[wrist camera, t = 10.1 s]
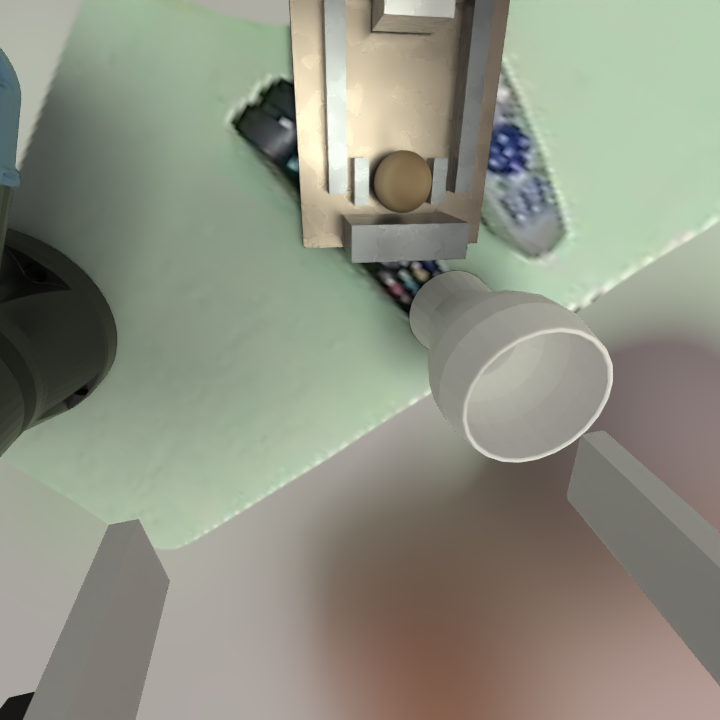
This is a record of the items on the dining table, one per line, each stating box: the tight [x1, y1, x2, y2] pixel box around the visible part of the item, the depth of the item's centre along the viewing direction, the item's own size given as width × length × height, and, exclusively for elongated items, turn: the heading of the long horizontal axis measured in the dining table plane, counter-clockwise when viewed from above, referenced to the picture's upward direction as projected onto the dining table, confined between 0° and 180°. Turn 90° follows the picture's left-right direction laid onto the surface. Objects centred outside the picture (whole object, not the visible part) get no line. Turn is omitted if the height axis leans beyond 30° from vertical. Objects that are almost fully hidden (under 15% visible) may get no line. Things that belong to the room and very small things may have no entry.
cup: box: [409, 271, 613, 462], centre depth 31 cm, size 11×11×15 cm
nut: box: [374, 150, 432, 213], centre depth 28 cm, size 4×4×4 cm
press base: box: [289, 0, 510, 263], centre depth 25 cm, size 14×24×6 cm, turn 179°
